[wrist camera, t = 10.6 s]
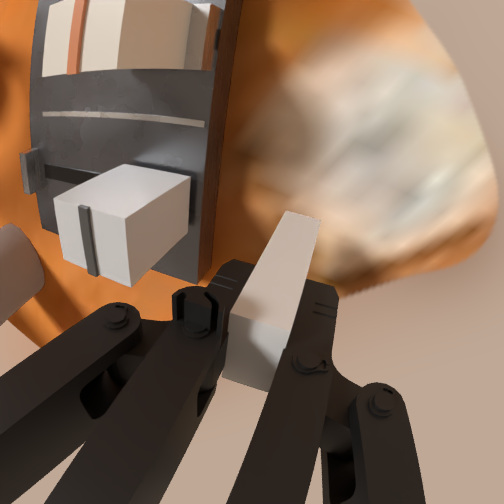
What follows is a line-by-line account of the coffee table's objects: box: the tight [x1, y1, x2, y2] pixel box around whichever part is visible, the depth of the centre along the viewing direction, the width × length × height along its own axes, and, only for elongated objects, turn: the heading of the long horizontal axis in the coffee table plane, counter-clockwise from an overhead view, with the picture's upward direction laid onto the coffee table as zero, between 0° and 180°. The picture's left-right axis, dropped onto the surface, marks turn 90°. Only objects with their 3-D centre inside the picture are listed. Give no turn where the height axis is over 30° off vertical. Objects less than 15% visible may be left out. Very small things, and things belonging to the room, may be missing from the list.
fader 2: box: [53, 164, 191, 287], centre depth 13 cm, size 4×3×5 cm
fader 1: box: [42, 0, 193, 77], centre depth 9 cm, size 4×3×5 cm
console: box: [20, 0, 243, 285], centre depth 15 cm, size 14×18×3 cm
